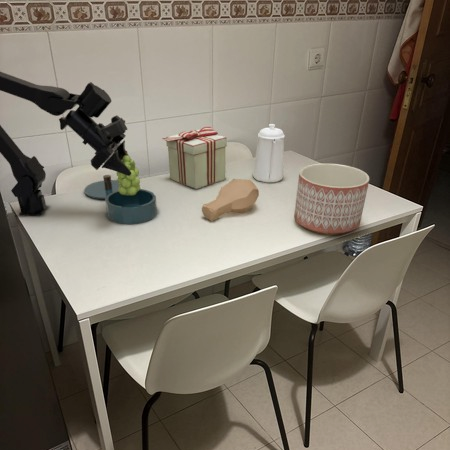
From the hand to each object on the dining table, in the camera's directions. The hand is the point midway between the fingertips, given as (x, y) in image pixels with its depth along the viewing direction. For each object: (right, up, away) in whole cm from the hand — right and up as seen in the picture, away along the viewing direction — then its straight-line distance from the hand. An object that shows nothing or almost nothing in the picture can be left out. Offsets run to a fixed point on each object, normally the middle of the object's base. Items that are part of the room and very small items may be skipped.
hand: (132, 171), depth 128 cm
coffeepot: (+42, +7, +35) cm, 55 cm away
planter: (+56, -14, +6) cm, 58 cm away
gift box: (+15, +7, +33) cm, 37 cm away
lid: (-12, 0, +22) cm, 25 cm away
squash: (+28, -10, +11) cm, 32 cm away
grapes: (-2, -5, +4) cm, 7 cm away
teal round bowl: (-2, -10, +8) cm, 14 cm away
